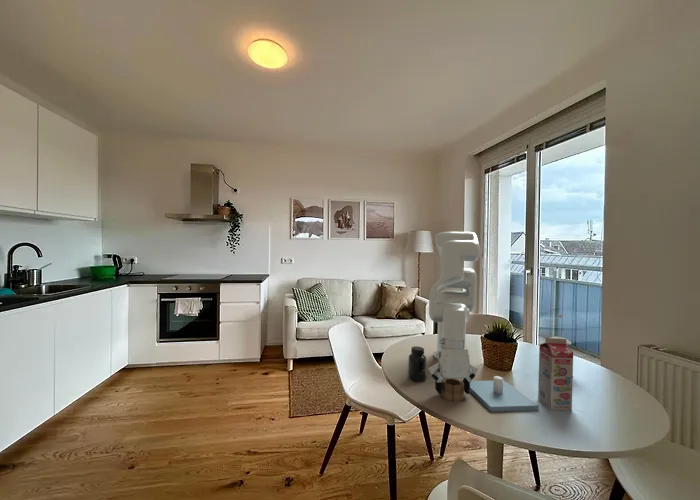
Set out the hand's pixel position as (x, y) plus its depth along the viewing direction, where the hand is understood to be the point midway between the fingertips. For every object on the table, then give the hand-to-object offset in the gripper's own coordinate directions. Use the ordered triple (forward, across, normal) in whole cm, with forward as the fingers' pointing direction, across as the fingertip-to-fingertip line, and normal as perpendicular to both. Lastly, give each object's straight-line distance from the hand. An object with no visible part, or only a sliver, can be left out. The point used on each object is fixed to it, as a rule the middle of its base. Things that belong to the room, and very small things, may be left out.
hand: (452, 392), depth 102 cm
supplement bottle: (+2, -8, +14) cm, 16 cm away
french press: (+2, +53, +17) cm, 56 cm away
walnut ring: (+1, 0, 0) cm, 1 cm away
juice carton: (+2, +32, -7) cm, 33 cm away
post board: (+1, +16, -1) cm, 16 cm away
